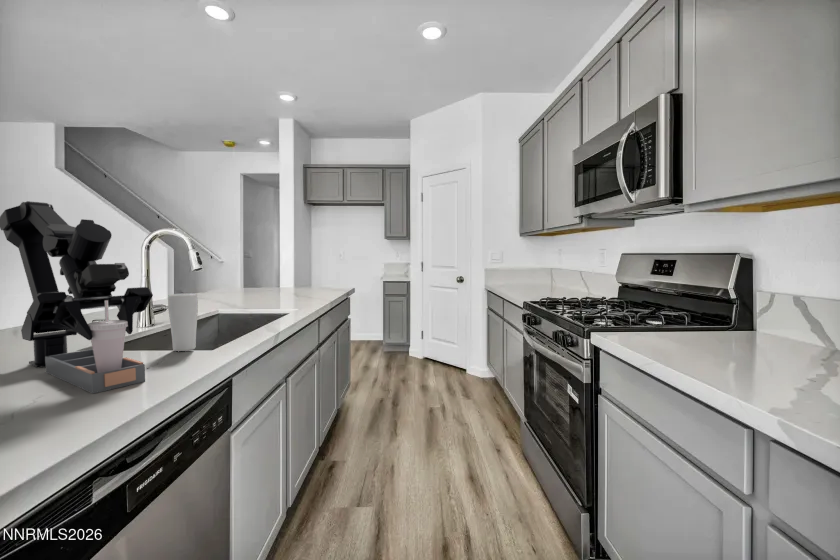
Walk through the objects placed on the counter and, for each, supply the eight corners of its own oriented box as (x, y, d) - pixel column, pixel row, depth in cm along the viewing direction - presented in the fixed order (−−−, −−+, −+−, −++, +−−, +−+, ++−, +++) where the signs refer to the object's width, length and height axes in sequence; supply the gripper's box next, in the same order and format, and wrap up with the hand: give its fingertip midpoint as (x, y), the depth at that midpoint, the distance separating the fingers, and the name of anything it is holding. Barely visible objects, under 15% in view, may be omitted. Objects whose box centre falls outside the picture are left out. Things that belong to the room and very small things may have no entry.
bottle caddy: (45, 372, 86) (45, 355, 86) (94, 363, 93) (93, 347, 93) (93, 393, 73) (93, 373, 72) (146, 381, 80) (145, 363, 80)
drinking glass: (185, 353, 103) (183, 296, 102) (163, 352, 105) (161, 295, 104) (204, 347, 110) (203, 293, 109) (183, 346, 111) (181, 293, 110)
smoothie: (124, 364, 83) (122, 298, 82) (133, 370, 79) (131, 300, 78) (84, 371, 78) (82, 300, 78) (92, 378, 74) (90, 303, 73)
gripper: (33, 248, 71) (61, 315, 66) (147, 250, 87) (176, 304, 83) (19, 289, 76) (44, 355, 71) (130, 284, 92) (157, 337, 87)
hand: (111, 335), depth 78 cm, fingers closed on smoothie, 6 cm apart
